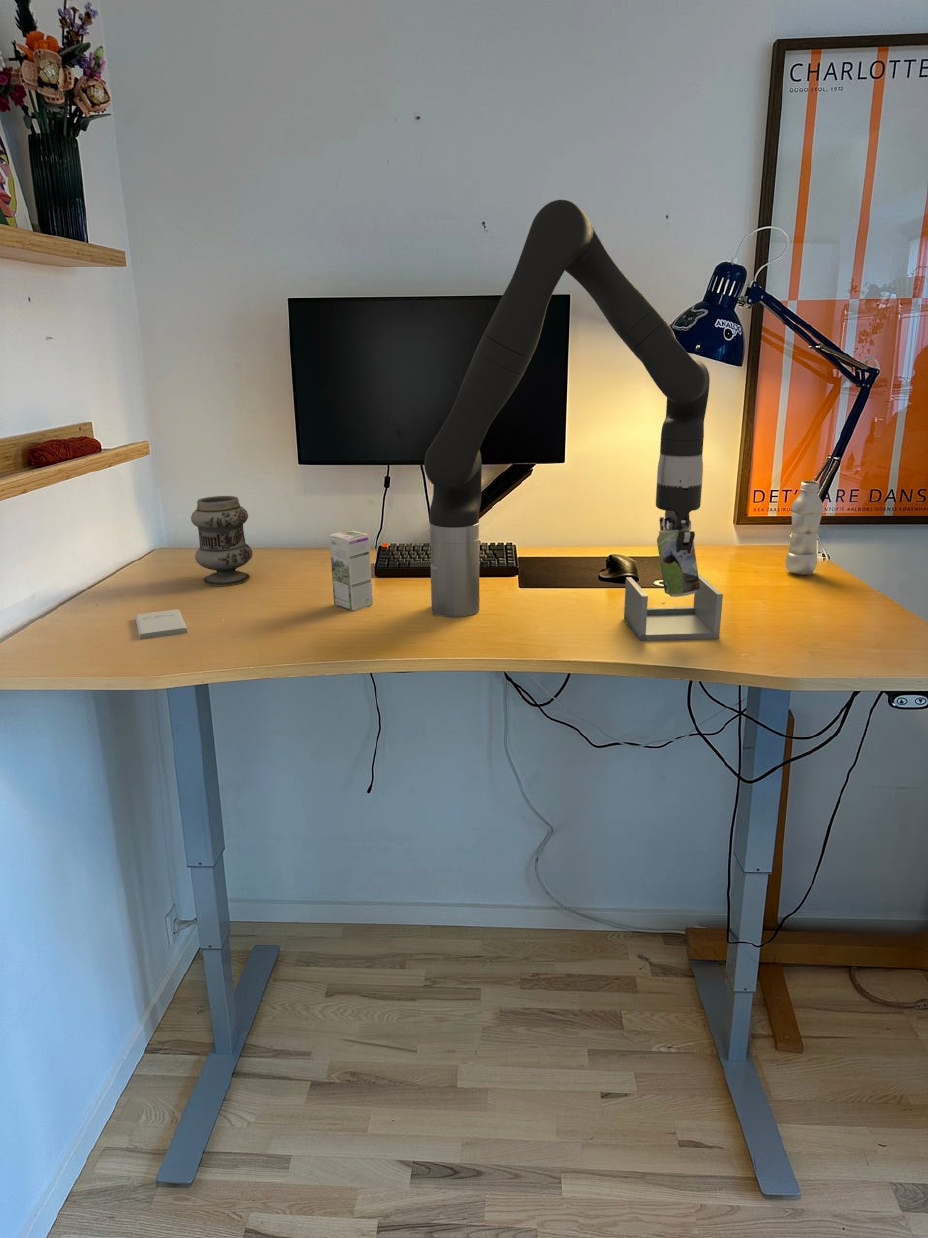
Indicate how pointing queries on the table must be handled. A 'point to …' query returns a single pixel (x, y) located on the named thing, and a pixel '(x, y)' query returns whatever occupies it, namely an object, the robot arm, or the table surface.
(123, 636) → the table surface
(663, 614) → the holder
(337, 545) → the syrup box
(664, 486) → the robot arm
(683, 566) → the beverage can
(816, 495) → the plastic bottle
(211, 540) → the apothecary jar
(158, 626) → the external hard drive
